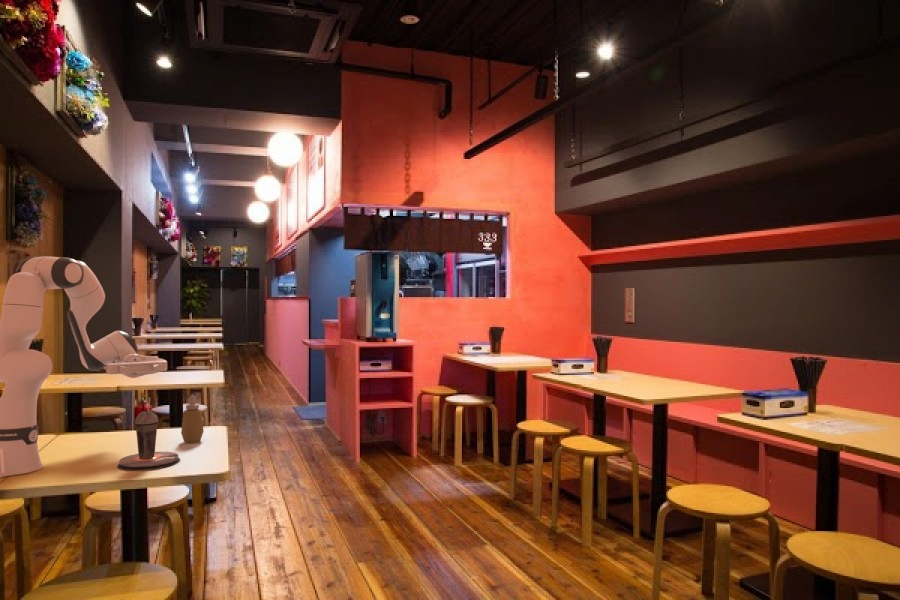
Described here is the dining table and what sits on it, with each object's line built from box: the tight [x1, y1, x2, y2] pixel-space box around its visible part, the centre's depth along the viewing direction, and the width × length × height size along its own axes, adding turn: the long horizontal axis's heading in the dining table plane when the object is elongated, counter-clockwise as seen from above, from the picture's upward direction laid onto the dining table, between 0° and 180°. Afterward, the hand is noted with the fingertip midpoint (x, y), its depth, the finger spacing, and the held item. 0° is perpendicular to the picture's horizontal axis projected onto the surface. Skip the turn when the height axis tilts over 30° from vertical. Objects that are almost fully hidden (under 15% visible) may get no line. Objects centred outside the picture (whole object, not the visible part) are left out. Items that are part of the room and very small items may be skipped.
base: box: [116, 457, 181, 472], centre depth 211 cm, size 19×19×1 cm
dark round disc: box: [118, 451, 179, 469], centre depth 211 cm, size 18×18×1 cm
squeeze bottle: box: [180, 394, 205, 444], centre depth 244 cm, size 8×8×18 cm
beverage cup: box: [133, 397, 160, 459], centre depth 210 cm, size 7×7×20 cm
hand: (141, 368), depth 227 cm, fingers open, 8 cm apart
